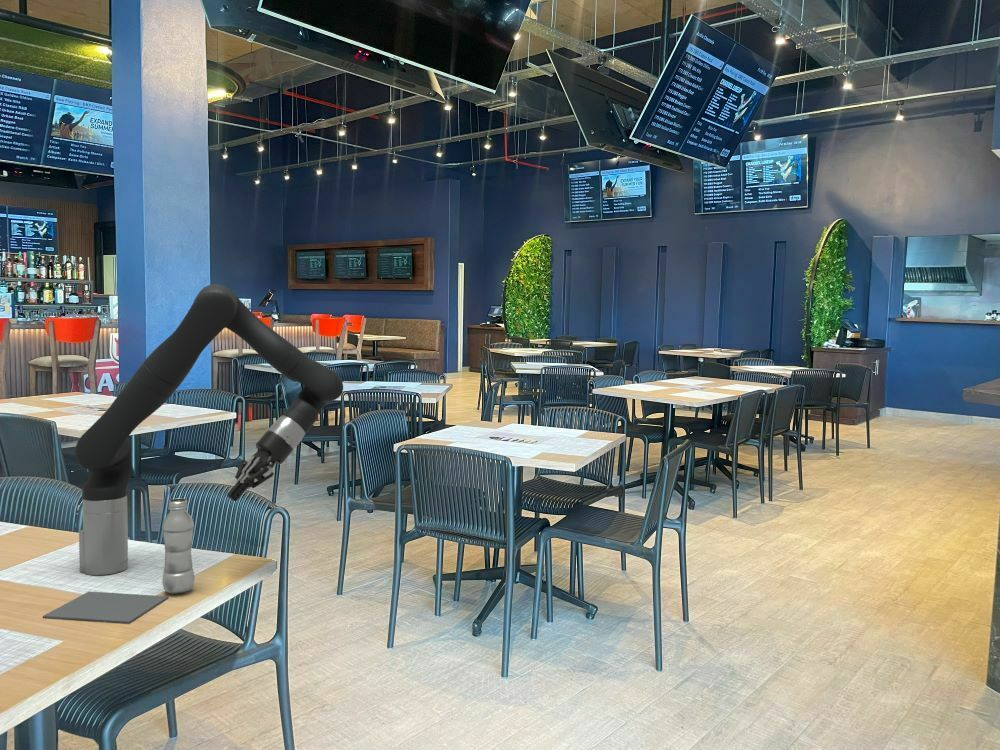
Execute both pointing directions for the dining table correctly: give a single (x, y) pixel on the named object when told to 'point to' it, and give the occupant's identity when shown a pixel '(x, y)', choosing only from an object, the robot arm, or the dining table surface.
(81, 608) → the rubber mat
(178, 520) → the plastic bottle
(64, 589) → the dining table surface
